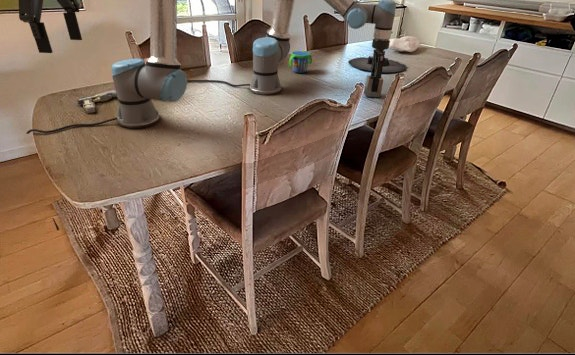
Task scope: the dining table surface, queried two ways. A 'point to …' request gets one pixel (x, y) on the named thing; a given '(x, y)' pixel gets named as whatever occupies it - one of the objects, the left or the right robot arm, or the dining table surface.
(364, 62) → the dark round tray
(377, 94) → the brick
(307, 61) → the snack cup
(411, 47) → the crumpled cloth
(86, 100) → the handgun
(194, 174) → the dining table surface
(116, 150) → the dining table surface
